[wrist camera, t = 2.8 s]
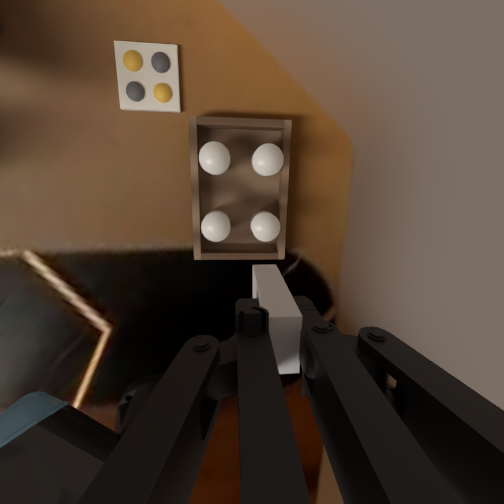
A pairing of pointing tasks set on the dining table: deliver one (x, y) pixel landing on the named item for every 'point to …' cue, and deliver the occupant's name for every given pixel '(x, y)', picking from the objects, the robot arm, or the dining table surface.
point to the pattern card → (147, 76)
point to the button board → (239, 186)
